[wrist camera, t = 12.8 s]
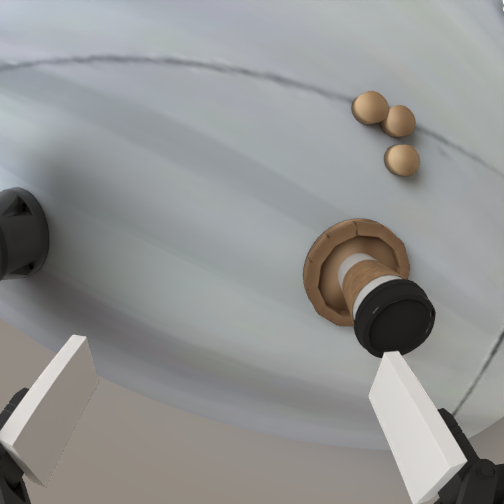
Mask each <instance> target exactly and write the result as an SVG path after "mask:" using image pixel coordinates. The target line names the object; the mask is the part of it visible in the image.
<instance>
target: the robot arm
mask: <svg viewBox="0 0 504 504" xmlns="http://www.w3.org/2000/svg"><path fill="white" fill-rule="evenodd" d="M48 245H49V236H48V228H47V223H46V219H45V216H44V213H43V211H42V209H41V207H40V205H39V203H38V202H37V200H36V199H35V198H34V197H33V195H32V194H30V193H29V192H28V191H26V190H24V189H22V188H10V189H6V190H3V191H1V192H0V281H1V280H8V279H18V278H25V277H28V276H30V275H31V274H33V273H35V272H36V271H38V270H39V269H40V268H41V267H42V265H43V264H44V262H45V259H46V256H47V253H48ZM98 384H99V380H98V377H97V374H96V370H95V367H94V363H93V359H92V356H91V352H90V348H89V344H88V340H87V337H84V336H79V335H72V336H71V337H70V339H69V340H68V341H67V342H66V344H65V345H64V346H63V347H62V348H61V350H60V351H59V352H58V353H57V355H56V356H55V357H54V358H53V360H52V361H51V362H50V364H49V365H48V366H47V368H46V369H45V370H44V371H43V373H42V374H41V375H40V376H39V378H38V379H37V380H36V382H35V383H34V385H33V386H32V387H31V388H30V389H27V388H23V389H22V390H20V391H19V392H17V393H16V394H15V395H14V396H13V398H12V399H11V400H10V402H9V404H8V405H7V406H6V407H5V408H4V410H3V411H2V413H1V414H0V504H31V502H30V499H29V496H28V493H27V489H26V486H25V483H24V481H23V479H22V476H23V474H24V473H25V475H26V476H27V477H28V478H29V479H30V480H31V481H33V482H35V483H37V484H39V485H41V486H43V487H47V485H48V483H49V481H50V479H51V476H52V474H53V472H54V470H55V468H56V465H57V463H58V461H59V459H60V457H61V455H62V453H63V451H64V449H65V447H66V445H67V443H68V441H69V439H70V437H71V435H72V433H73V431H74V429H75V427H76V425H77V423H78V421H79V419H80V417H81V415H82V414H83V412H84V410H85V408H86V406H87V404H88V402H89V400H90V399H91V397H92V395H93V393H94V391H95V389H96V388H97V386H98ZM368 397H369V400H370V402H371V404H372V406H373V409H374V411H375V413H376V415H377V418H378V420H379V422H380V425H381V427H382V429H383V432H384V434H385V436H386V439H387V441H388V443H389V446H390V448H391V451H392V453H393V455H394V458H395V460H396V463H397V465H398V468H399V470H400V473H401V475H402V478H403V480H404V483H405V485H406V488H407V490H408V493H409V495H410V498H411V501H412V503H413V504H421V503H424V502H426V501H429V500H431V499H432V498H433V497H434V496H435V495H436V494H437V493H438V494H439V497H440V498H439V499H438V500H437V501H436V502H435V503H434V504H504V464H499V465H495V464H494V463H493V462H492V461H489V460H487V459H480V458H479V457H478V456H477V454H476V452H475V451H474V449H473V447H472V446H471V445H470V442H469V441H468V439H467V438H466V436H465V434H464V433H462V430H461V428H460V426H458V423H457V422H456V420H455V419H454V417H453V416H452V415H451V414H450V413H449V412H448V411H446V410H445V409H444V408H442V409H438V410H437V409H436V407H435V406H434V404H433V403H432V401H431V400H430V398H429V396H428V395H427V393H426V392H425V390H424V389H423V387H422V386H421V384H420V383H419V381H418V379H417V378H416V376H415V375H414V373H413V372H412V370H411V369H410V367H409V366H408V364H407V363H406V361H405V360H404V359H403V357H402V356H401V354H400V353H399V351H395V352H384V355H383V357H382V360H381V363H380V366H379V369H378V372H377V374H376V377H375V380H374V382H373V385H372V388H371V390H370V393H369V395H368Z"/></svg>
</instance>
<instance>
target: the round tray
mask: <svg viewBox="0 0 504 504" xmlns="http://www.w3.org/2000/svg"><path fill="white" fill-rule="evenodd" d="M356 253H364V254H368V255H369V256H371V257H373V258H374V259H376V260H377V261H379V262H380V263H382V264H384V265H385V266H387V267H389V268H390V269H392V270H393V271H395V272H397V273H398V274H400V275H401V276H403V277H404V278H406V279H407V280H408V275H409V271H410V268H409V267H410V264H409V261H408V257H407V254H406V250H405V247H404V243H402V241H401V240H400V239H399V238H397V237H396V236H395V235H394V234H393V233H392V232H391V231H390V230H389V229H388V228H387V227H385V226H384V225H382V224H380V223H378V222H375V221H372V220H368V219H350V220H346V221H343V222H340V223H338V224H335V225H334V226H332V227H330V228H329V229H327V230H326V231H325V232H324V233H323V234H321V235H320V236H319V237H318V239H317V240H316V241H315V242H314V244H313V245H312V247H311V248H310V250H309V252H308V255H307V257H306V260H305V264H304V269H303V280H304V286H305V290H306V293H307V295H308V298H309V299H310V301H311V303H312V304H313V306H314V308H315V310H316V312H317V313H318V314H319V315H321V316H322V317H324V318H326V319H327V320H329V321H331V322H332V323H334V324H336V325H339V326H354V324H353V321H352V318H351V315H350V312H349V309H348V307H347V304H346V301H345V298H344V295H343V292H342V289H341V287H340V284H339V281H338V270H339V267H340V265H341V264H342V262H343V261H344V260H345V259H346V258H347V257H349V256H351V255H353V254H356Z"/></svg>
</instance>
